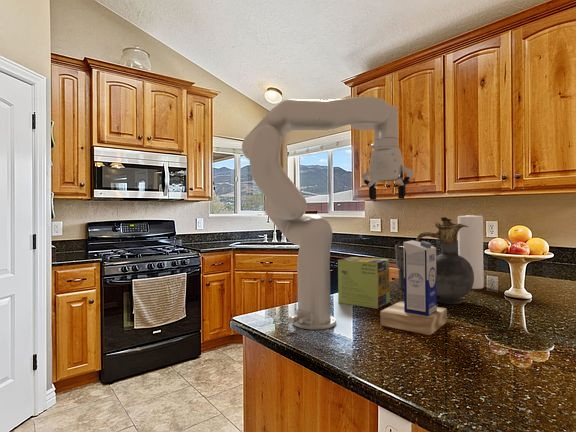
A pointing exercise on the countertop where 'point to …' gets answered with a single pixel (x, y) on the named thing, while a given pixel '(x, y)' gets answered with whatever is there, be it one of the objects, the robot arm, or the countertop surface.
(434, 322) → the oak block
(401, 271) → the planter
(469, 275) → the pitcher
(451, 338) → the countertop surface
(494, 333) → the countertop surface
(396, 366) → the countertop surface
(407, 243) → the milk carton
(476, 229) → the cylinder container
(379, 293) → the protein box
